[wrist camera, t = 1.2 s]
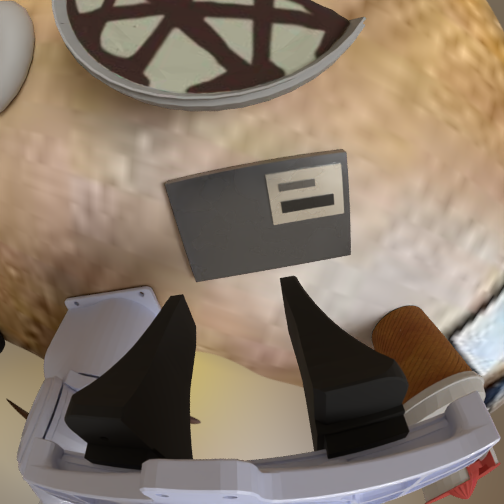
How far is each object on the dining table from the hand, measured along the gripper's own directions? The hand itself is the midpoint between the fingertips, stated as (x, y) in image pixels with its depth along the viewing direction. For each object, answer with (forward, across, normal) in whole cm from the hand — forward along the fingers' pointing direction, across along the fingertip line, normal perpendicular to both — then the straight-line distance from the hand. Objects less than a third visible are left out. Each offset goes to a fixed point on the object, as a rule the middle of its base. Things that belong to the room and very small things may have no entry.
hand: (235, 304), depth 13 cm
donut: (+10, +16, -18) cm, 26 cm away
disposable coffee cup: (+10, -14, +16) cm, 23 cm away
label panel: (+9, -2, 0) cm, 10 cm away
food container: (+10, 0, -12) cm, 15 cm away
